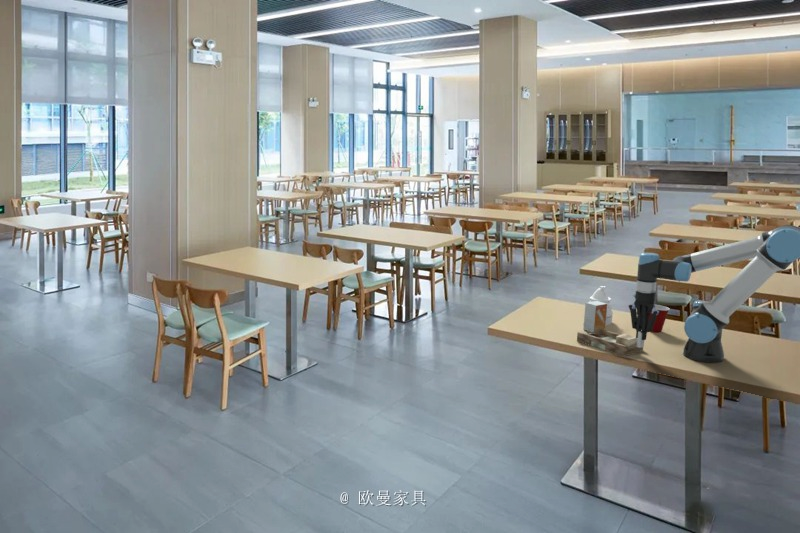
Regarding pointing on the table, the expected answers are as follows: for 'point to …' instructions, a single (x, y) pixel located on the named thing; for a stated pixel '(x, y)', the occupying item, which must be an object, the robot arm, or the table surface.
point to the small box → (595, 315)
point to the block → (627, 340)
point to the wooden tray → (606, 342)
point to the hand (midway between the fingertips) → (640, 346)
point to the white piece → (602, 297)
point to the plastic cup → (659, 318)
